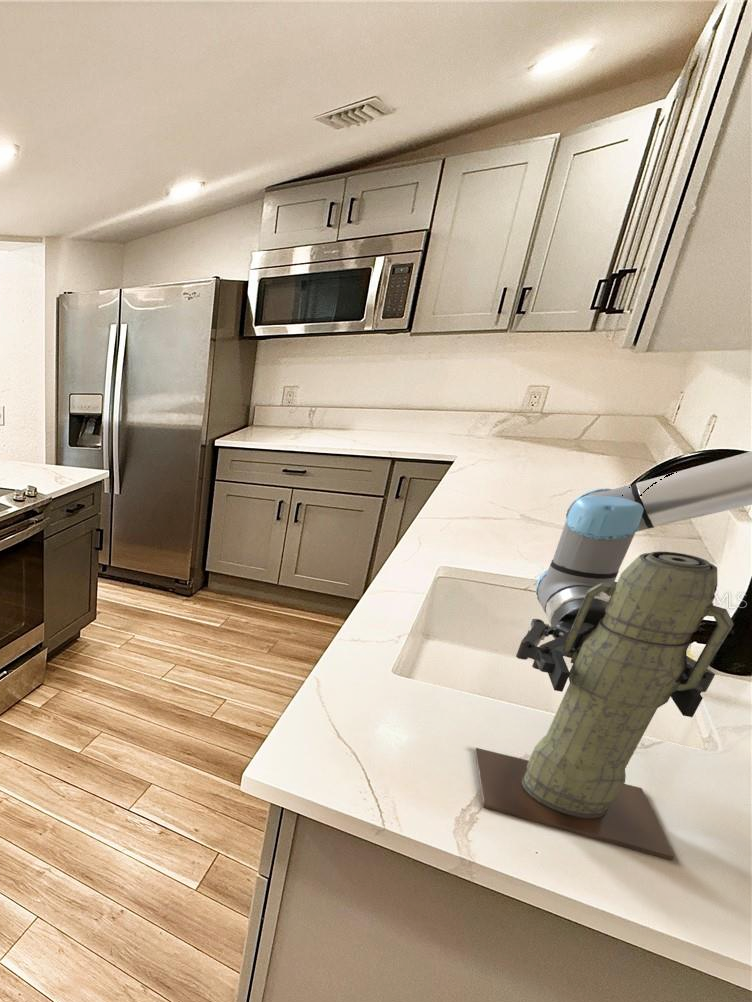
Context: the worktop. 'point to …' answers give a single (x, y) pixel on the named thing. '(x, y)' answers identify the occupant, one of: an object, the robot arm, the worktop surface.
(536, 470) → the worktop surface
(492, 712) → the worktop surface
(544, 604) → the robot arm
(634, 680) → the thermos
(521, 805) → the board
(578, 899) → the worktop surface
